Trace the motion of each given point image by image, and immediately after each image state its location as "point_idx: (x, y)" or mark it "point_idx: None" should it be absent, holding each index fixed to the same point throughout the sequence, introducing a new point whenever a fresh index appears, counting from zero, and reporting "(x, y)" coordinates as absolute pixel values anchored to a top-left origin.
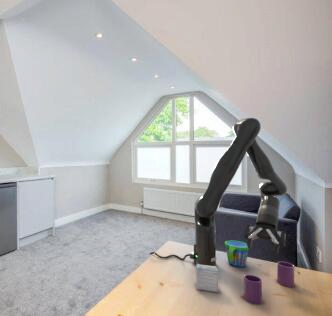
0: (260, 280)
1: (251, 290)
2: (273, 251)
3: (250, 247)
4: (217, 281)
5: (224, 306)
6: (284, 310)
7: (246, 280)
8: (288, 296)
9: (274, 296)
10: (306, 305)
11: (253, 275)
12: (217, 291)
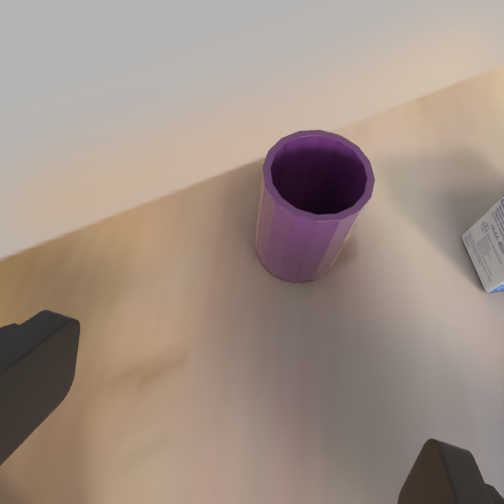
0: (271, 161)
1: (314, 171)
2: (64, 317)
3: (417, 475)
4: (500, 200)
5: (408, 140)
6: (165, 209)
7: (353, 150)
8: (92, 373)
9: (178, 332)
10: (31, 304)
11: (313, 219)
12: (466, 234)
